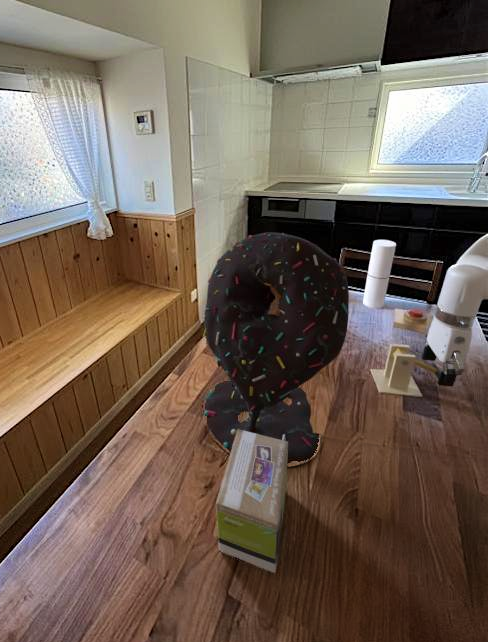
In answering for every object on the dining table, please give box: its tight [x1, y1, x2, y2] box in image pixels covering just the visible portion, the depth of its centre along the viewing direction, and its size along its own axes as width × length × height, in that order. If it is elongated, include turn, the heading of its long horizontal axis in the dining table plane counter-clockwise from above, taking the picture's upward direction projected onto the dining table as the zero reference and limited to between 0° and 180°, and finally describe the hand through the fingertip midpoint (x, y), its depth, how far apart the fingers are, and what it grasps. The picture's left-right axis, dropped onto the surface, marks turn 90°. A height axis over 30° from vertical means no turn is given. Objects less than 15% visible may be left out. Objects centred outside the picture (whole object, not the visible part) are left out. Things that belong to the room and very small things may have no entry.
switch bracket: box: [370, 343, 423, 398], centre depth 89 cm, size 10×9×12 cm
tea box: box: [215, 429, 288, 574], centre depth 60 cm, size 15×10×15 cm, turn 159°
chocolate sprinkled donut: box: [202, 231, 350, 464], centre depth 77 cm, size 30×32×45 cm
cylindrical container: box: [362, 239, 397, 309], centre depth 125 cm, size 7×7×25 cm
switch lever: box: [393, 348, 442, 381], centre depth 87 cm, size 12×5×2 cm, turn 79°
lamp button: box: [409, 307, 424, 318], centre depth 114 cm, size 4×4×2 cm
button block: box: [392, 307, 434, 335], centre depth 115 cm, size 12×10×4 cm
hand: (436, 371), depth 87 cm, fingers open, 9 cm apart
